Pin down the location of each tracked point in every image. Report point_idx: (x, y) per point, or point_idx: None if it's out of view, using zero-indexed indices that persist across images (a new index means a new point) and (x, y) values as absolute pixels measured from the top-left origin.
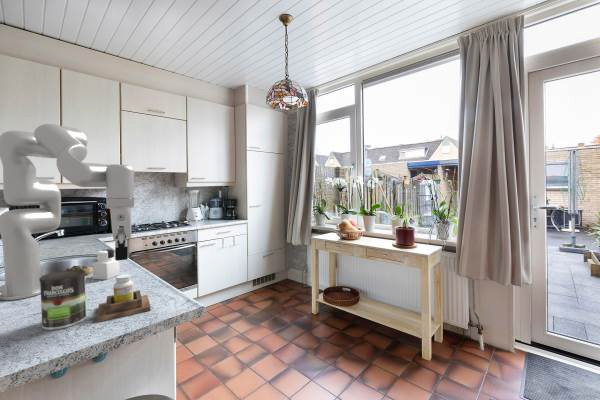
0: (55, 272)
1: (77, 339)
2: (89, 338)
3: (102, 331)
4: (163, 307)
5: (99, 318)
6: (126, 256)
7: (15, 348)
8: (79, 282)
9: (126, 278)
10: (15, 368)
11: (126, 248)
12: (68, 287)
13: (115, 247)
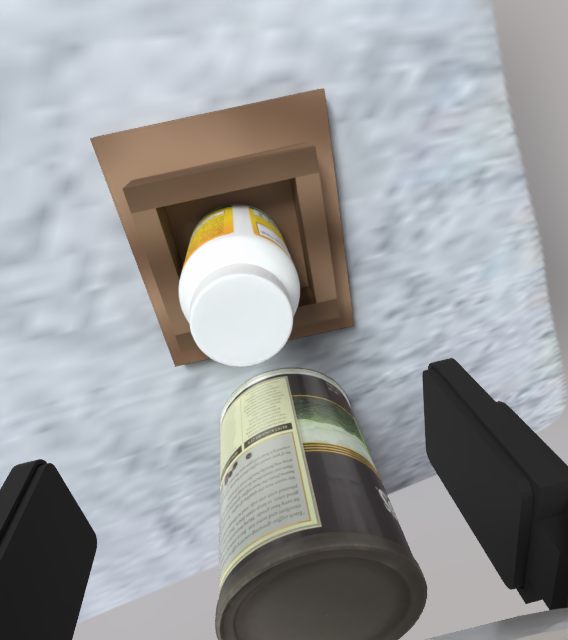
0: None
1: (468, 333)
2: (485, 299)
3: (451, 271)
4: (302, 4)
5: (351, 314)
6: (468, 385)
7: (428, 463)
8: (364, 509)
9: (283, 288)
10: (549, 414)
11: (544, 467)
12: (398, 523)
13: (527, 600)
